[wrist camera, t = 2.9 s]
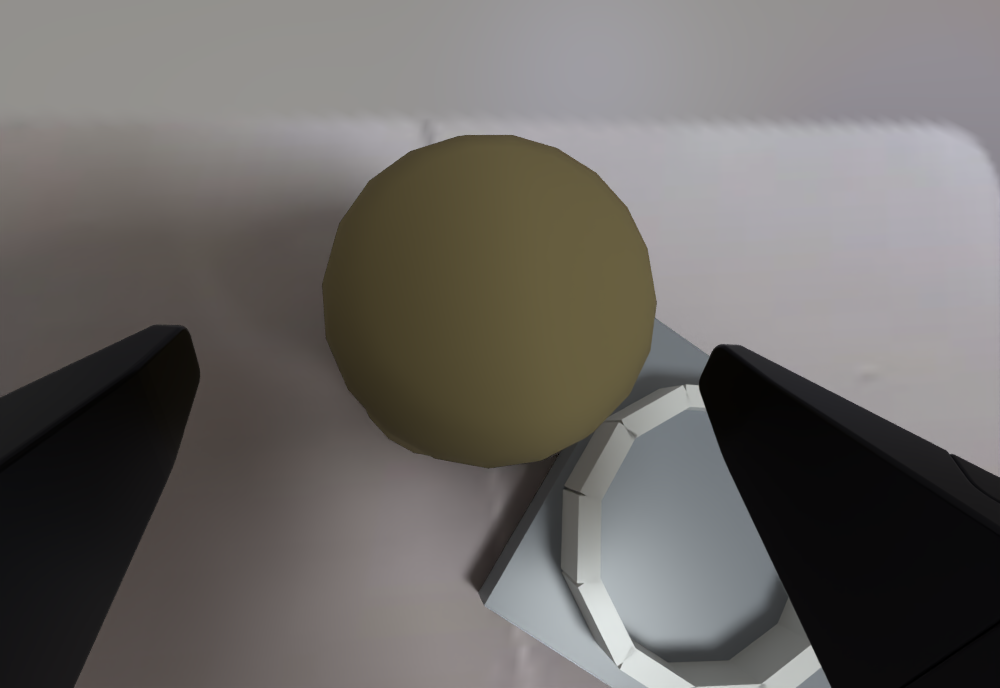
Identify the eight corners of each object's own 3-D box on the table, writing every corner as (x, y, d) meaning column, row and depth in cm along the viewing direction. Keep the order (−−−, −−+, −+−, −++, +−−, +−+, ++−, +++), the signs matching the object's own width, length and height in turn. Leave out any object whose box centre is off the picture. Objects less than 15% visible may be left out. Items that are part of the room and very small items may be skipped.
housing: (478, 592, 16) (492, 625, 13) (636, 322, 19) (674, 305, 16) (815, 808, 17) (890, 879, 14) (919, 521, 19) (1000, 536, 17)
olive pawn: (326, 421, 16) (163, 410, 5) (396, 258, 17) (382, -16, 7) (497, 482, 17) (662, 583, 6) (552, 321, 18) (768, 168, 7)
